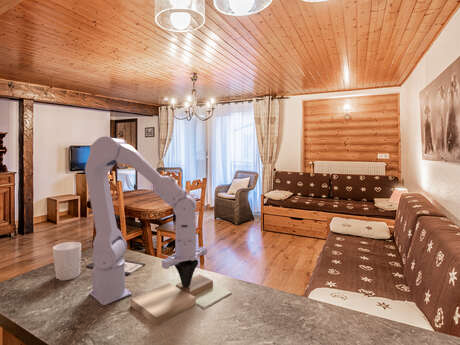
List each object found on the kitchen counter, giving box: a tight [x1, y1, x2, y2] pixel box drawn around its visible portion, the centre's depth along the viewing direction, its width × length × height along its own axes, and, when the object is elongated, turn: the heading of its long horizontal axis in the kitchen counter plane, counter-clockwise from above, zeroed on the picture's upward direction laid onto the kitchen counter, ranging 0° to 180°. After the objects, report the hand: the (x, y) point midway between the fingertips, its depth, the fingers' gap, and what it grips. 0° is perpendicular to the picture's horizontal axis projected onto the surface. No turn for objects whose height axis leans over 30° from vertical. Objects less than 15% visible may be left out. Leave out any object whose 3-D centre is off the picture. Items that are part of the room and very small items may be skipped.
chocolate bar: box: [85, 259, 146, 277], centre depth 97 cm, size 9×1×18 cm
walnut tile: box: [176, 274, 214, 296], centre depth 81 cm, size 6×9×2 cm, turn 138°
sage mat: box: [163, 273, 232, 309], centre depth 81 cm, size 18×11×1 cm, turn 48°
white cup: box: [52, 241, 82, 281], centre depth 89 cm, size 8×8×10 cm
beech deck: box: [130, 282, 197, 326], centre depth 73 cm, size 12×12×2 cm
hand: (185, 285), depth 78 cm, fingers closed
